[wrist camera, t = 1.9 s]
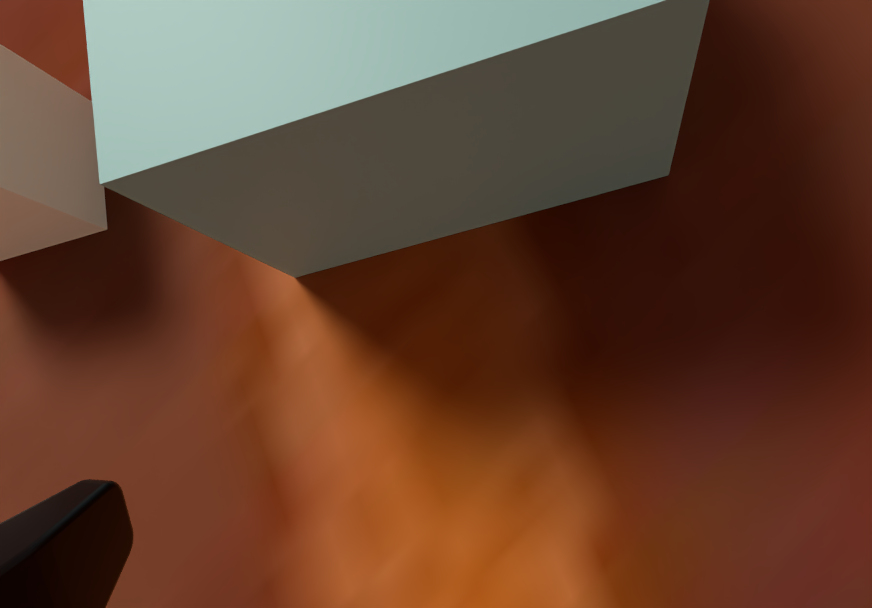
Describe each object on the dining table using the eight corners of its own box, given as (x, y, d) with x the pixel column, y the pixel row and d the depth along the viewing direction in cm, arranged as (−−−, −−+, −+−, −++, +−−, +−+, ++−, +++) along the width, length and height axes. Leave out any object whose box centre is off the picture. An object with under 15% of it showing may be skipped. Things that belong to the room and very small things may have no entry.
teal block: (668, 176, 20) (713, -16, 11) (296, 278, 22) (99, 184, 14) (584, -103, 22) (569, -441, 13) (255, 17, 24) (64, -204, 16)
